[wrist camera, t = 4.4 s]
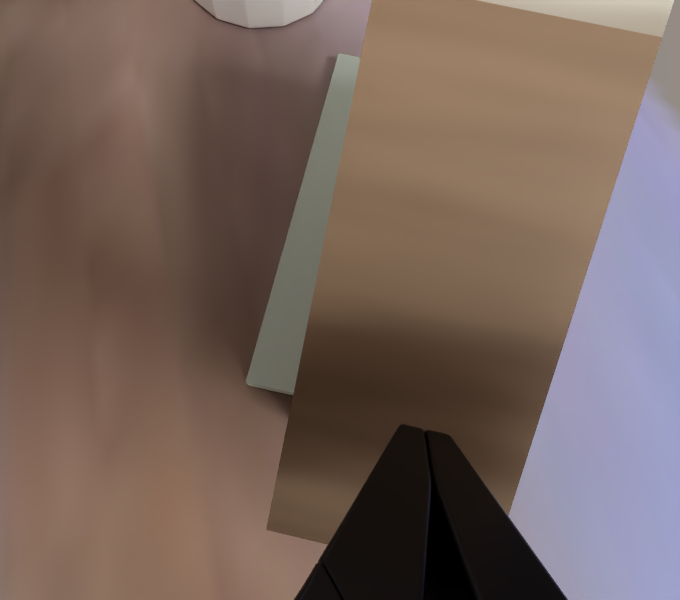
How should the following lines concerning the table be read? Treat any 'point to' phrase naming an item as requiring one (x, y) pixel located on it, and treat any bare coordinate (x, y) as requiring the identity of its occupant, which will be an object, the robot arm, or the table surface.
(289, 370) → the rubber mat
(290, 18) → the white cup
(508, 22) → the walnut block
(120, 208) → the table surface
